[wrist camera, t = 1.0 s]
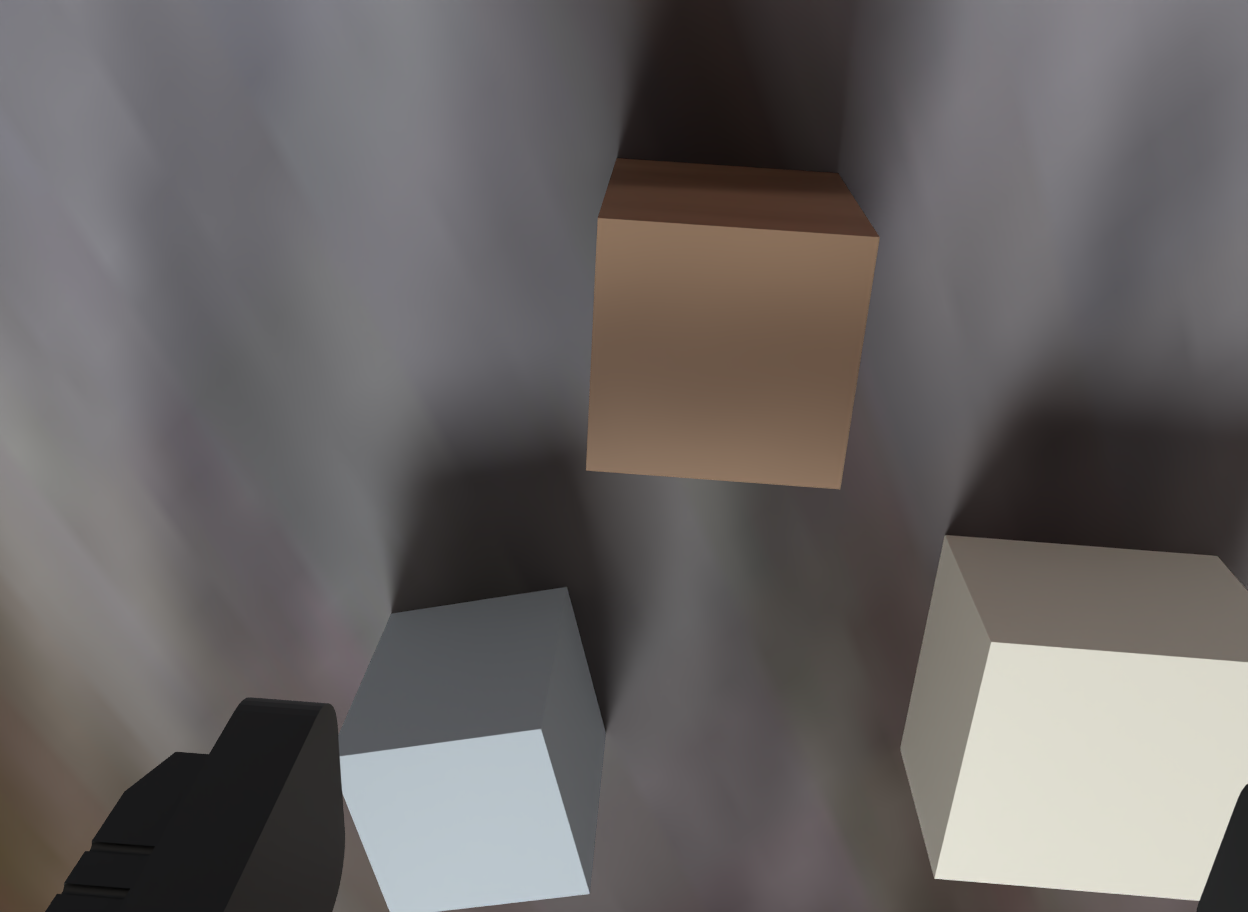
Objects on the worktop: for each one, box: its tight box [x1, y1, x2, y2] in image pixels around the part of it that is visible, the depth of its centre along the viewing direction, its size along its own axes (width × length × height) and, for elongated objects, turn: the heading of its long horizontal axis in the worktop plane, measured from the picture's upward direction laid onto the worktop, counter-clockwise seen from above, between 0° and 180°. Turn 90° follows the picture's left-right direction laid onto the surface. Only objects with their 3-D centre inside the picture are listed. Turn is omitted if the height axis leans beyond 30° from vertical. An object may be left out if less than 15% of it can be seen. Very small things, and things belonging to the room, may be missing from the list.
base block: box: [900, 535, 1248, 901], centre depth 28 cm, size 7×7×5 cm
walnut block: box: [586, 158, 880, 489], centre depth 23 cm, size 5×5×6 cm
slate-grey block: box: [338, 587, 606, 912], centre depth 29 cm, size 5×5×6 cm
